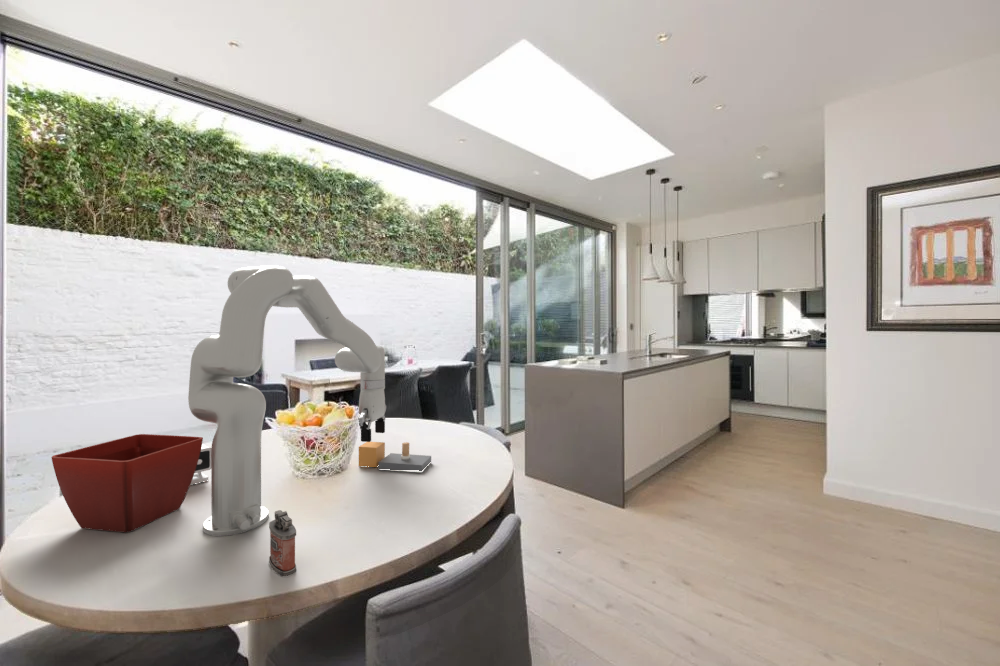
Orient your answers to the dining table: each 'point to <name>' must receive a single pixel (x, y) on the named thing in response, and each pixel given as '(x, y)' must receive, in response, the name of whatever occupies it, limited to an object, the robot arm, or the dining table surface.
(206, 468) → the security camera
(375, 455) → the wooden cube
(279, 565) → the lighter
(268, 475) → the dining table surface
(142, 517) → the plant pot
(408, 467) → the grey platform with peg
